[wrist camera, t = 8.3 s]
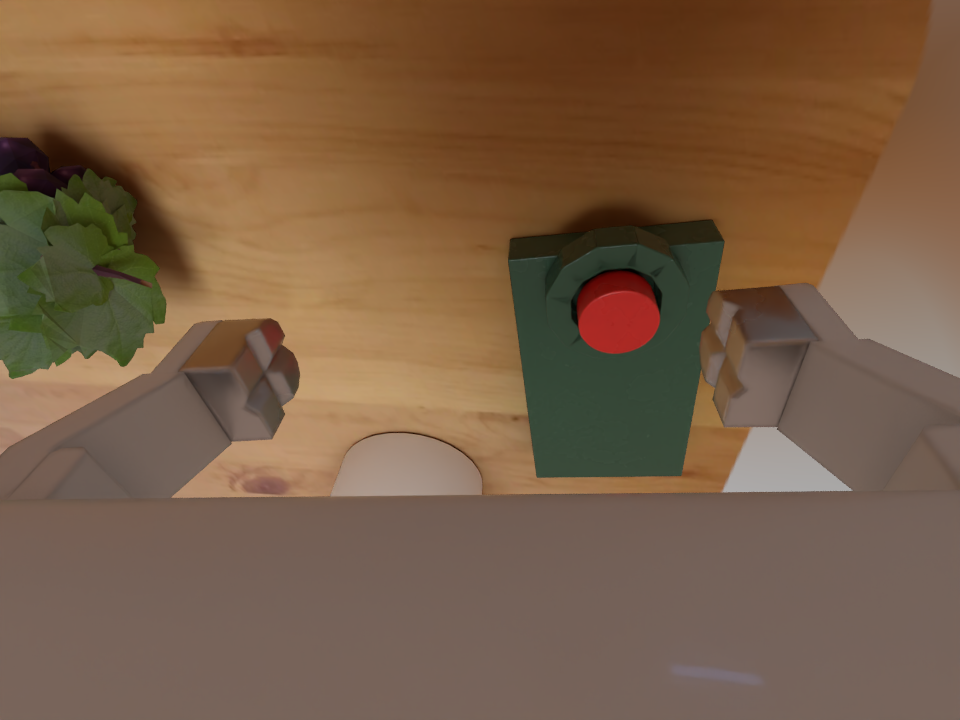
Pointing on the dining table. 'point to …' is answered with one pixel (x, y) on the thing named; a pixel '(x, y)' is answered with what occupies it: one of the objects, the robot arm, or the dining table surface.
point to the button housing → (605, 376)
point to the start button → (617, 312)
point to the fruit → (68, 265)
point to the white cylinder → (405, 468)
